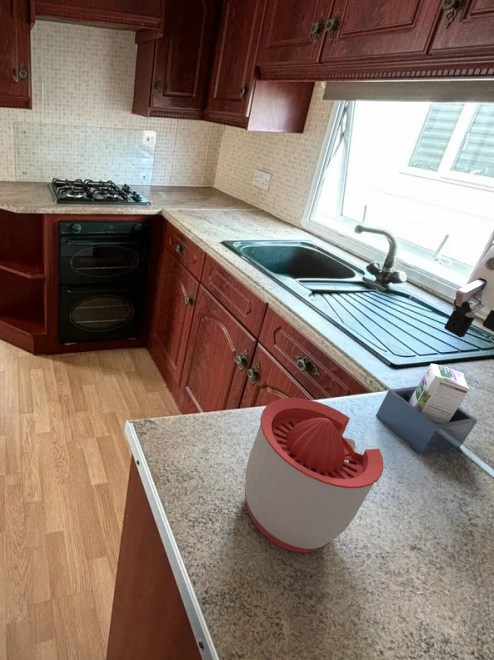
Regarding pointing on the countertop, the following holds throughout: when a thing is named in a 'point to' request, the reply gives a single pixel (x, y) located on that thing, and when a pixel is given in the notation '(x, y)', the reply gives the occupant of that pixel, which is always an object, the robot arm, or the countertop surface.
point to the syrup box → (439, 393)
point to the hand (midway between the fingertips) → (472, 331)
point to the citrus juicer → (306, 474)
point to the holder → (423, 424)
